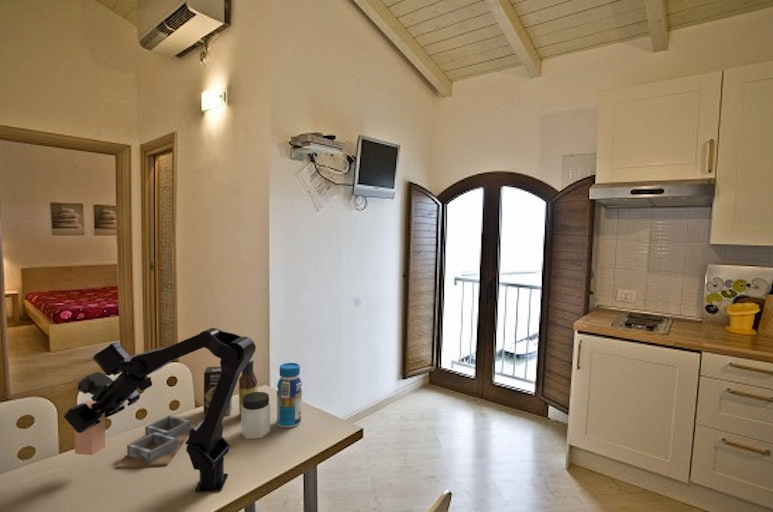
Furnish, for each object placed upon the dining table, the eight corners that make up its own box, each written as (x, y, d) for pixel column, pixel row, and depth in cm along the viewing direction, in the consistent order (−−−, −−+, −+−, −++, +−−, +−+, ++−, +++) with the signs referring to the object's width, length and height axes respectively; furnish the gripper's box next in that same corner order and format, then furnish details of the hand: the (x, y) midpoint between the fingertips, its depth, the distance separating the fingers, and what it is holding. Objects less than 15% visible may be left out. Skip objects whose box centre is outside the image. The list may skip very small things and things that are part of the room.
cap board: (167, 465, 108) (167, 453, 108) (116, 468, 106) (116, 455, 106) (197, 424, 132) (197, 413, 132) (155, 425, 130) (155, 415, 130)
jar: (273, 434, 126) (273, 398, 126) (248, 442, 121) (248, 404, 121) (262, 423, 133) (262, 389, 133) (238, 430, 128) (238, 395, 128)
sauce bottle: (261, 414, 140) (261, 359, 139) (246, 420, 135) (247, 364, 134) (249, 409, 144) (249, 356, 143) (234, 415, 138) (235, 360, 137)
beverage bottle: (272, 421, 135) (272, 364, 134) (294, 414, 140) (294, 360, 140) (283, 431, 129) (284, 371, 128) (306, 423, 134) (307, 366, 133)
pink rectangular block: (105, 446, 106) (104, 401, 105) (92, 455, 102) (91, 408, 101) (88, 445, 106) (87, 400, 105) (75, 453, 102) (74, 406, 101)
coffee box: (202, 417, 137) (203, 372, 136) (206, 409, 143) (206, 366, 142) (230, 415, 139) (231, 370, 138) (232, 407, 145) (233, 364, 144)
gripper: (129, 354, 111) (95, 389, 113) (70, 377, 93) (29, 419, 95) (155, 382, 111) (120, 418, 113) (100, 412, 92) (59, 453, 94)
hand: (85, 425), depth 104 cm, fingers closed on pink rectangular block, 4 cm apart
